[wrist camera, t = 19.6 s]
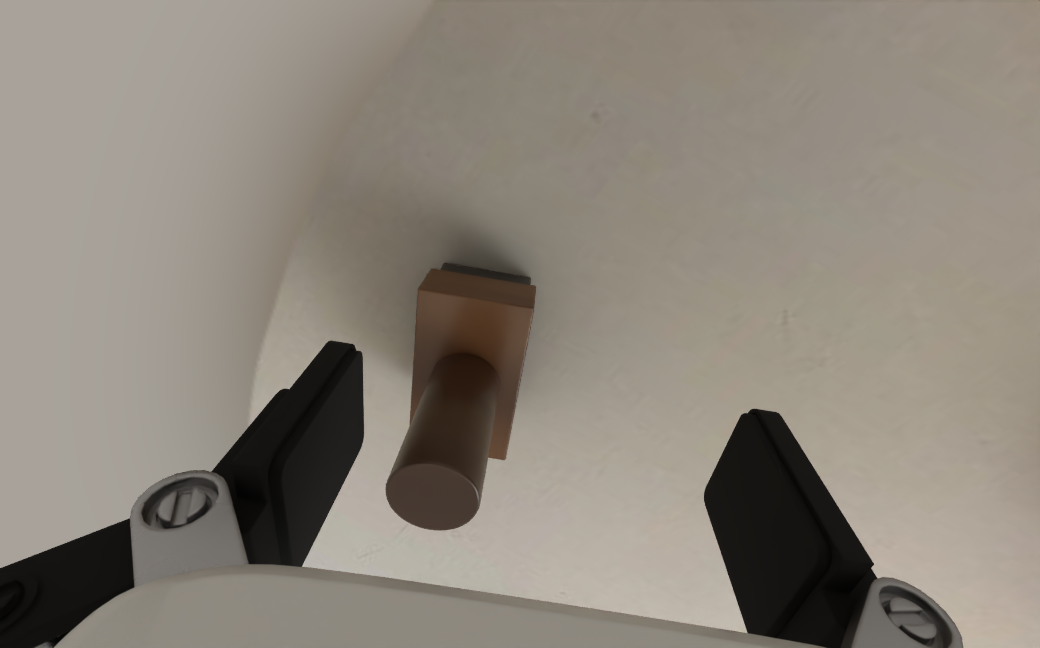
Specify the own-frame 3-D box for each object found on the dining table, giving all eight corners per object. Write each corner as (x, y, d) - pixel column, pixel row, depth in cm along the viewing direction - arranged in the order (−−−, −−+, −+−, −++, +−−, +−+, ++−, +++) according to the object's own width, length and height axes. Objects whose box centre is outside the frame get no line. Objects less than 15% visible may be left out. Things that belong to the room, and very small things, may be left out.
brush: (439, 254, 19) (358, 380, 11) (537, 270, 19) (525, 408, 11) (428, 394, 22) (359, 569, 15) (511, 407, 23) (489, 589, 15)
